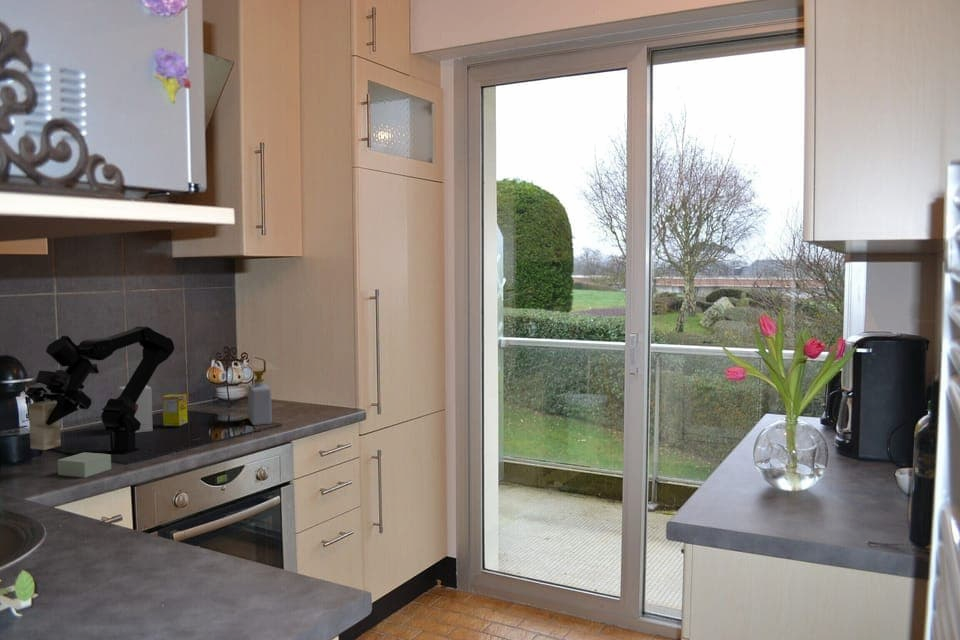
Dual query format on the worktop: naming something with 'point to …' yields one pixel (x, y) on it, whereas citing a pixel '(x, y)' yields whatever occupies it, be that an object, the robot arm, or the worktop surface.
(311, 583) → the worktop surface
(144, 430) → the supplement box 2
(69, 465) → the riser block
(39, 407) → the maple block
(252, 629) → the worktop surface
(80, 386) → the robot arm
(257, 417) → the soap bottle
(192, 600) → the worktop surface
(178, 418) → the supplement box
